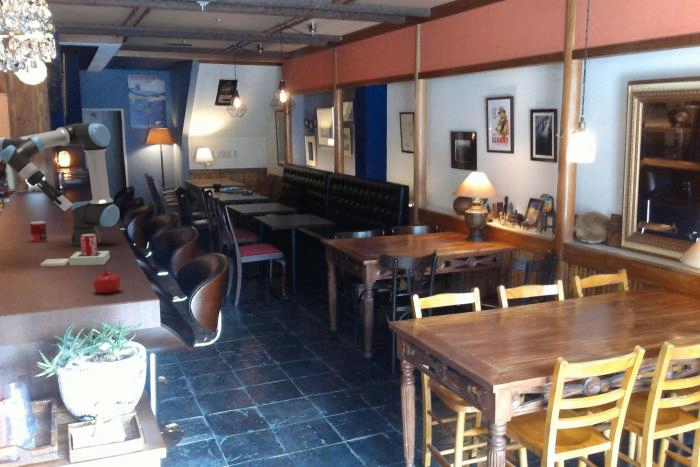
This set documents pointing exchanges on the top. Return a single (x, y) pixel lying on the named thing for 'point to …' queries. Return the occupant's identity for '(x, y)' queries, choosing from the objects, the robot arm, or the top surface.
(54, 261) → the tile
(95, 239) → the soda can
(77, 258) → the holder
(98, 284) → the pomegranate
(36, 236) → the canned food
